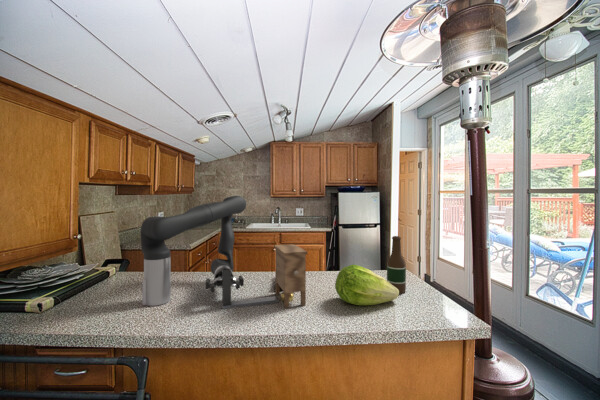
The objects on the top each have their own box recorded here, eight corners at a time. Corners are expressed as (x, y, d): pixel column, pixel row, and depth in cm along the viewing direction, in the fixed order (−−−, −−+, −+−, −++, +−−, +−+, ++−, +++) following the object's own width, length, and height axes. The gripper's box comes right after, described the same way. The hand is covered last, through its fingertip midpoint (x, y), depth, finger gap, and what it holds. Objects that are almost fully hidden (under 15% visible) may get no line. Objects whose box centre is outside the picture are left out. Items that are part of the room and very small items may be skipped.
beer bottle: (386, 292, 117) (386, 237, 117) (387, 287, 125) (387, 234, 124) (405, 295, 114) (405, 238, 114) (405, 289, 122) (406, 235, 121)
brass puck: (282, 302, 106) (282, 296, 106) (279, 298, 111) (279, 292, 111) (295, 301, 108) (295, 295, 108) (291, 297, 113) (291, 291, 113)
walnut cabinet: (284, 309, 100) (284, 253, 99) (274, 293, 116) (274, 245, 116) (307, 306, 102) (308, 251, 102) (294, 291, 119) (294, 244, 119)
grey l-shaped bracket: (222, 309, 100) (222, 271, 100) (222, 305, 104) (222, 268, 103) (278, 302, 106) (278, 266, 106) (276, 299, 110) (276, 264, 110)
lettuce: (383, 305, 116) (395, 327, 100) (329, 286, 115) (334, 305, 99) (397, 274, 114) (412, 292, 98) (342, 254, 113) (349, 269, 97)
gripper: (205, 268, 113) (205, 279, 98) (240, 265, 118) (245, 276, 102) (205, 286, 114) (205, 300, 98) (240, 283, 118) (245, 296, 103)
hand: (225, 288), depth 100 cm, fingers open, 8 cm apart
